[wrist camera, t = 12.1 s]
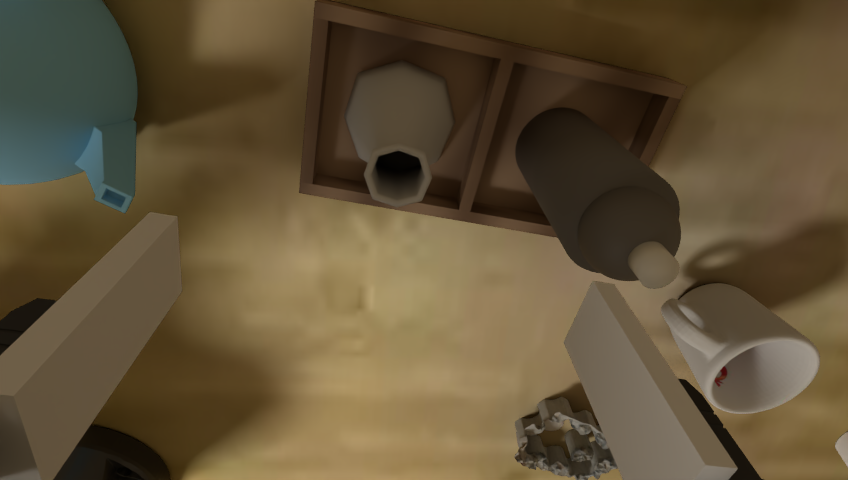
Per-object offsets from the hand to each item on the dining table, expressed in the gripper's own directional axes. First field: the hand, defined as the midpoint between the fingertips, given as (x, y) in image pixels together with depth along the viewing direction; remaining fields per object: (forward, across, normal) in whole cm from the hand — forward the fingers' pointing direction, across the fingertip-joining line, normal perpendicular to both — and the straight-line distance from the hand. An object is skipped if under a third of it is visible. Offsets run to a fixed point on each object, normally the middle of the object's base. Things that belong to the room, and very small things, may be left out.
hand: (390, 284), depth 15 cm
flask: (+18, 0, 0) cm, 18 cm away
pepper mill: (+18, +11, 0) cm, 21 cm away
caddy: (+19, +6, 0) cm, 20 cm away
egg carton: (+19, +23, -28) cm, 41 cm away
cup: (+19, +28, -11) cm, 35 cm away
